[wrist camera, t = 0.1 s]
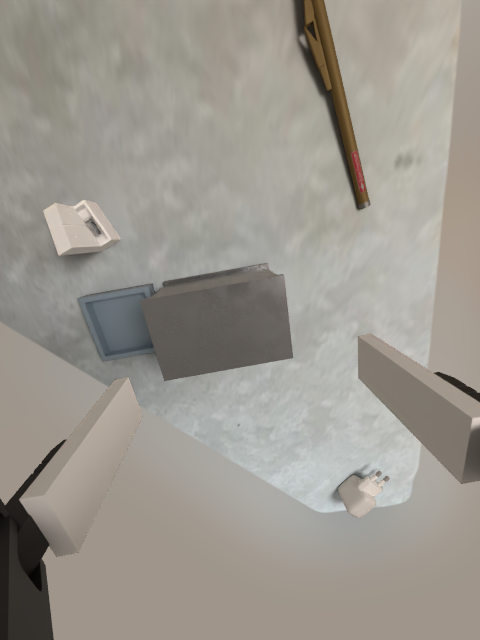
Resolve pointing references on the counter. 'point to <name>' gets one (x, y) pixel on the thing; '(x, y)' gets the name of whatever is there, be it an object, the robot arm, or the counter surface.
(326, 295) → the counter surface
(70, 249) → the white wedge bracket
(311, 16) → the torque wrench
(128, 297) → the tray
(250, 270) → the box
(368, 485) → the power adapter
